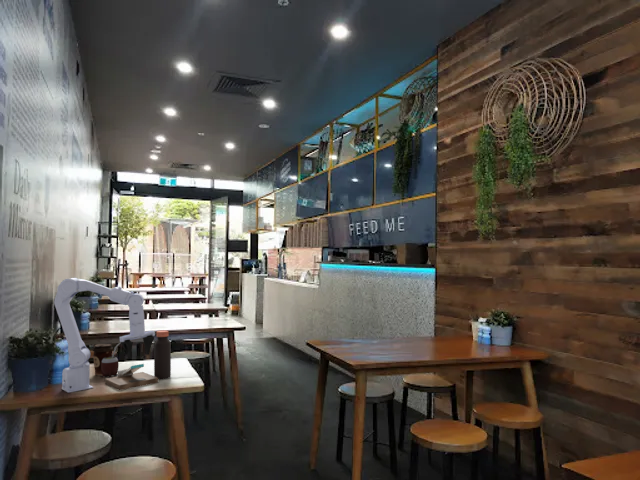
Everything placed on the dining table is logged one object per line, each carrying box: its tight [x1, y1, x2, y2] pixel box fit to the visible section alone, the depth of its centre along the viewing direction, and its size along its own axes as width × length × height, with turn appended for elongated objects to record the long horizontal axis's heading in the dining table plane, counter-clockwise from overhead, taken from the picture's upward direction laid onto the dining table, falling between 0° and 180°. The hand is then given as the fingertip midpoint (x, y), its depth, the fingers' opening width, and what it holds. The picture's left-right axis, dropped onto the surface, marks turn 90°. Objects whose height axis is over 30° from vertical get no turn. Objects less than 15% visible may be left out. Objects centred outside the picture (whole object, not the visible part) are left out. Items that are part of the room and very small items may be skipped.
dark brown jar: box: [91, 343, 114, 376], centre depth 216 cm, size 9×8×13 cm
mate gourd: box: [101, 341, 121, 378], centre depth 212 cm, size 8×8×15 cm
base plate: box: [104, 368, 159, 391], centre depth 201 cm, size 16×14×4 cm
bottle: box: [153, 329, 172, 380], centre depth 209 cm, size 7×7×20 cm
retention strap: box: [121, 363, 145, 376], centre depth 200 cm, size 5×12×1 cm, turn 45°
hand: (138, 356), depth 199 cm, fingers open, 7 cm apart
